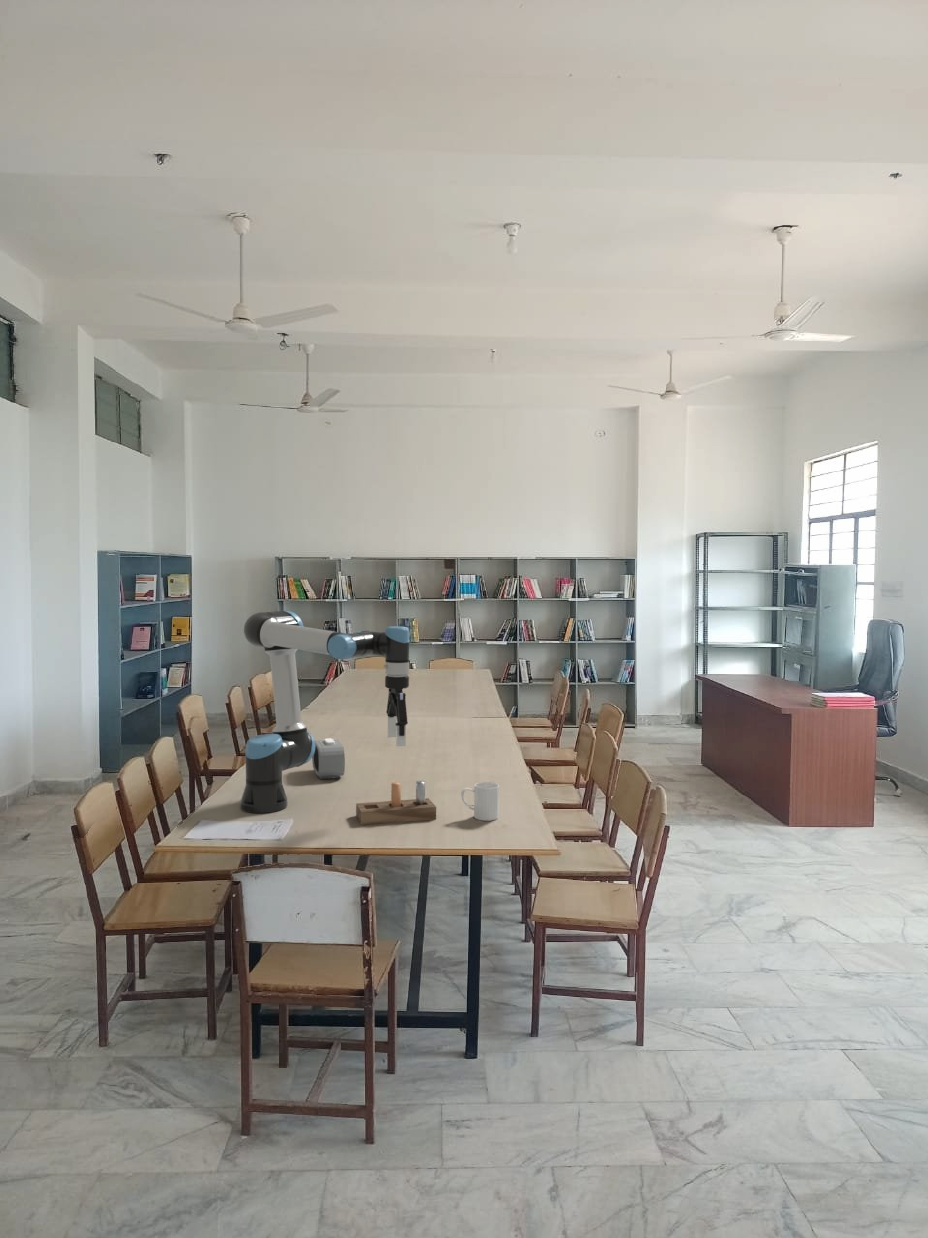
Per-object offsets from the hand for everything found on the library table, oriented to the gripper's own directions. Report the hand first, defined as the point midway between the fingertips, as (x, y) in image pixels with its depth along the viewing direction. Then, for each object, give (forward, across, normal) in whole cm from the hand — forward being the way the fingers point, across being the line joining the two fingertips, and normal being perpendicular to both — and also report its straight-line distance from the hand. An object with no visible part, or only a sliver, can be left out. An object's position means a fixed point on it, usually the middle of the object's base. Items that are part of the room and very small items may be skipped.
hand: (396, 741), depth 262 cm
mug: (+25, +7, +26) cm, 37 cm away
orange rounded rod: (+25, 0, 0) cm, 25 cm away
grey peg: (+25, 0, +8) cm, 26 cm away
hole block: (+25, 0, 0) cm, 25 cm away
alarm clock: (+25, -60, -14) cm, 66 cm away
